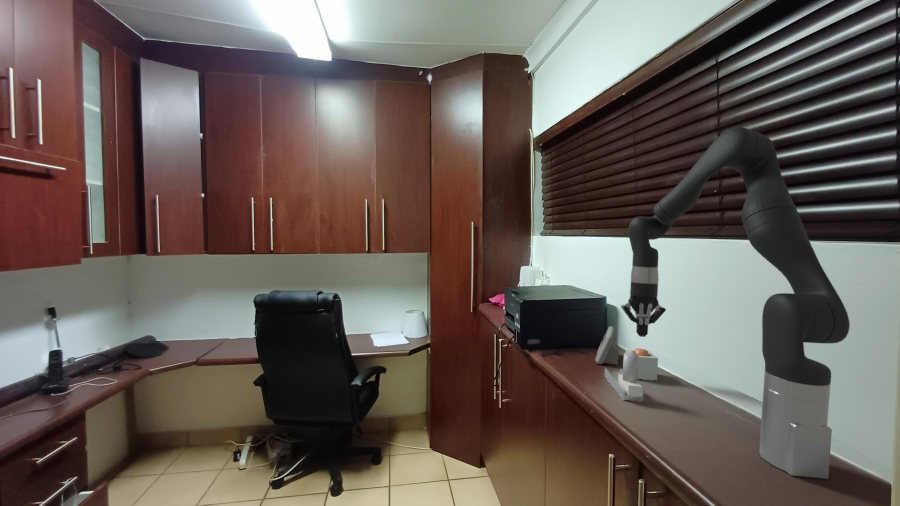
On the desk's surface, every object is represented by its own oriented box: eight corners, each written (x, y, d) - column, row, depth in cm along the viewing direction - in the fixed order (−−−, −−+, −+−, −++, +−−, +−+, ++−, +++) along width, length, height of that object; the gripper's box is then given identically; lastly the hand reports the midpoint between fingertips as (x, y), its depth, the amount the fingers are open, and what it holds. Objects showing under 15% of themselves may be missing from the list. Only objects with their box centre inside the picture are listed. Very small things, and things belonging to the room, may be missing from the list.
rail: (643, 401, 96) (643, 391, 96) (623, 400, 97) (623, 390, 97) (621, 377, 113) (621, 368, 113) (604, 376, 114) (604, 367, 114)
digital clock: (599, 351, 139) (600, 323, 138) (625, 356, 133) (626, 327, 133) (586, 362, 126) (587, 332, 125) (614, 368, 121) (615, 337, 120)
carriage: (642, 396, 95) (643, 360, 95) (627, 395, 96) (629, 359, 95) (630, 384, 103) (632, 350, 103) (617, 383, 104) (619, 349, 103)
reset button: (649, 362, 113) (649, 352, 112) (637, 361, 113) (637, 351, 113) (644, 358, 116) (645, 348, 116) (632, 357, 117) (633, 348, 116)
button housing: (656, 380, 111) (658, 358, 111) (632, 379, 112) (633, 356, 112) (647, 372, 118) (648, 350, 118) (624, 370, 119) (625, 349, 118)
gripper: (661, 280, 116) (658, 334, 117) (618, 278, 118) (615, 331, 119) (672, 283, 109) (669, 340, 110) (626, 281, 110) (623, 338, 111)
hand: (641, 336), depth 114 cm, fingers closed
